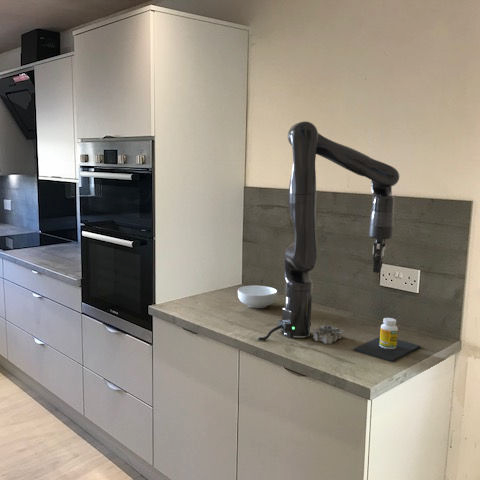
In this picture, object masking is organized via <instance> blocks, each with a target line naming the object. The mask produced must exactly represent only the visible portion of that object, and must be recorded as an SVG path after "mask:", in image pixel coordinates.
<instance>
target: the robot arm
mask: <svg viewBox="0 0 480 480" xmlns="http://www.w3.org/2000/svg"><path fill="white" fill-rule="evenodd" d="M287 141H288V143H289V144H290V146H291V149H292V170H291V174H290V179H289V186H288V210H289V215H290V219H291V222H292V226H293V230H294V242H293V243H291V244H290V245H289V246H287V248H286V250H285V253H284V262H283V263H284V264H283V266H284V269H283V271H284V272H283V273H284V275H283V276H284V281H285V295H284V307H282V308H281V319H279V320H278V323H277V326H276V327H274V328H272V329H271V330H269V331H268V333H267V334H266V336H263V337H258V338H257V340H258V341H265V340H266V341H267V340H268V339H269V338H270V336H271V335H272V334H273V333H274V332H275V331H277V330H280V333H281V334H283V335H284V336H286V337H288V338H289V339H306V338H309V337H310V336H311V327H312V322H311V320H312V302H313V280H312V278H311V276H310V272H311V271H312V270H313V269H315V267H316V266H317V263H318V245H317V233H316V224H317V223H316V222H317V172H316V160H317V159H316V157H317V156H320V157H322V158H324V159H326V160H329V161H330V162H332V163H333V164H336V165H338V166H339V167H341V168H343V169H345V170H347V171H349V172H351V173H352V174H353V173H354V174H356V175H357V176H361V177H365V178H367V179H369V180H370V181H371V194H372V195H371V196H372V201H371V212H370V215H369V216H370V217H369V227H368V237H369V238H371V239H375V241H374V242H373V243H372V256H373V257H372V261H373V268H372V272H373V273H376V274H379V273H380V272H381V269H382V267H383V258H384V256H385V254H386V248H387V242H386V240H391V239H393V231H394V219H395V216H394V210H395V196H394V195H393V191H392V190H393V189H392V188H393V187H394V186H395V185H397V184H398V182H399V181H400V173H399V171H398V170H397V168H395V167H394V166H393V165H390V164H387V163H385V162H382V161H380V160H377V159H374V158H372V157H370V156H369V155H367V154H365V153H363V152H361V151H359V150H357V149H354V148H352V147H349V146H347V145H344V144H341V143H338V142H336V141H334V140H331V139H329V138H328V137H326V136H324V135H322V134H320V133H319V131H318V129H317V127H316V125H315V124H314V123H313V122H310V121H306V120H304V121H300V122H296V123H294V124H293V125H291V127H290V128H289V130H288V132H287ZM385 242H386V243H385Z"/></svg>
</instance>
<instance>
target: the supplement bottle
mask: <svg viewBox="0 0 480 480" xmlns="http://www.w3.org/2000/svg"><path fill="white" fill-rule="evenodd" d="M382 320H383V321H382V324H381V325H380V328H379V329H380V332H379V337H380V344H379V345H380V347H382V348H385V349H395V348H396V346H397V340H398V335H399V328H398V326H397V319H395V318H392V317H384V318H383V319H382Z"/></svg>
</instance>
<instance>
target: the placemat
mask: <svg viewBox="0 0 480 480" xmlns="http://www.w3.org/2000/svg"><path fill="white" fill-rule="evenodd" d="M379 344H380V336H379V337H377V338H374V339H372V340H370V341H368V342H366V343H363V344H361V345H359V346H356V347H355V348H354V349H353V350H354V351H356V352H359V353H361V354H366V355H369V356H372V357H376V358H379V359H382V360H385V361H389V362H392V363H393V362H394V361H397V360H399V359H401V358H402V357H405V356H406V355H408V354H410V353H412V352H414V351H417V350H418V349H420V348H421V345H419V344H415V343H413V342H408V341H405V340H401V339H397V346H396V348H395V349H385V348H382V347H380V345H379Z"/></svg>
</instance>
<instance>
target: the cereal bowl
mask: <svg viewBox="0 0 480 480" xmlns="http://www.w3.org/2000/svg"><path fill="white" fill-rule="evenodd" d="M237 297H238V299H239V301H240V302H241V303H242V304H243V305H246V306H248V307H249V308H253V309H264V308H267V306H271V305H273V304H274V303H275V302H276V300H277V298H278V290H277V289H276V288H274V287H271V286H267V285H245V286H241V287H239V288H238V289H237Z"/></svg>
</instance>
